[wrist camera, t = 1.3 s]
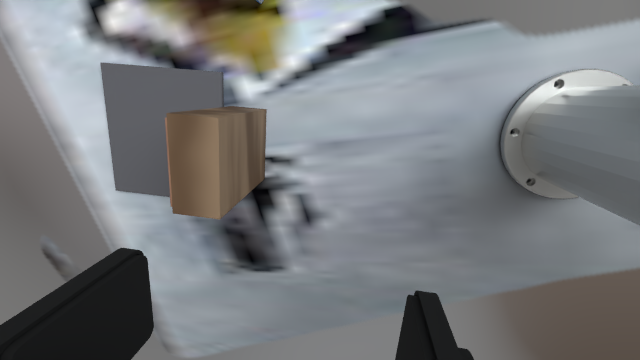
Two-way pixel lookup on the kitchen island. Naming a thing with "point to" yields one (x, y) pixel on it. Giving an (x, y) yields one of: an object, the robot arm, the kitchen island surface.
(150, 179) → the charcoal mat
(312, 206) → the kitchen island surface
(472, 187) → the kitchen island surface
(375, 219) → the kitchen island surface
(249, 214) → the kitchen island surface
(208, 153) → the brown wooden block
